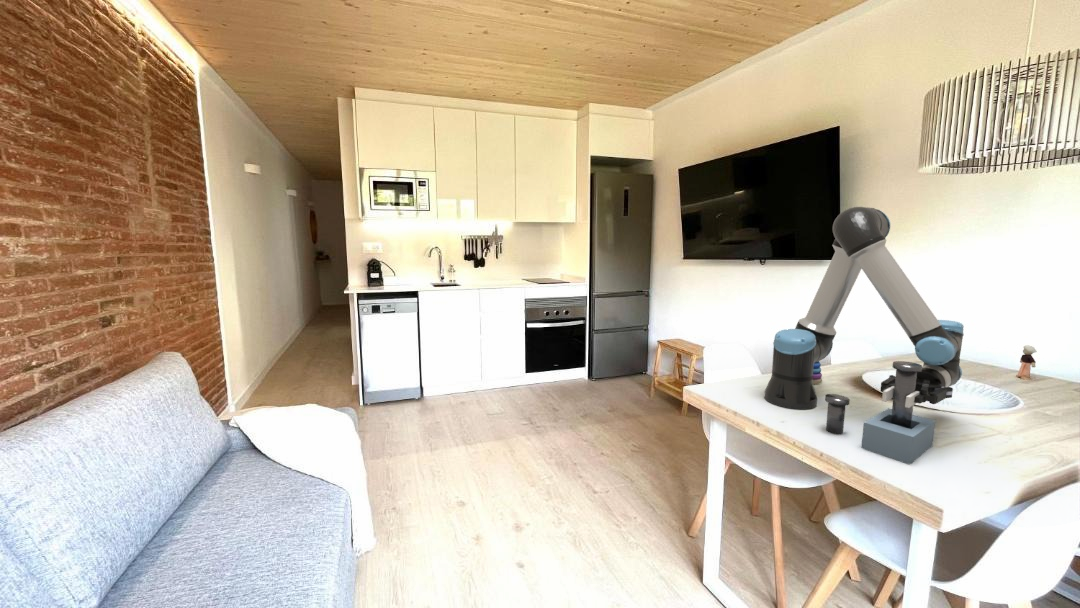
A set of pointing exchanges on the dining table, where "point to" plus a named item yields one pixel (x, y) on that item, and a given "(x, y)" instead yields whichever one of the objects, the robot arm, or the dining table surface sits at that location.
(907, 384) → the tall pin
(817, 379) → the stacking toy
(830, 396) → the short pin
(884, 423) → the guide block
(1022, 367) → the grandmother figurine
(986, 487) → the dining table surface
